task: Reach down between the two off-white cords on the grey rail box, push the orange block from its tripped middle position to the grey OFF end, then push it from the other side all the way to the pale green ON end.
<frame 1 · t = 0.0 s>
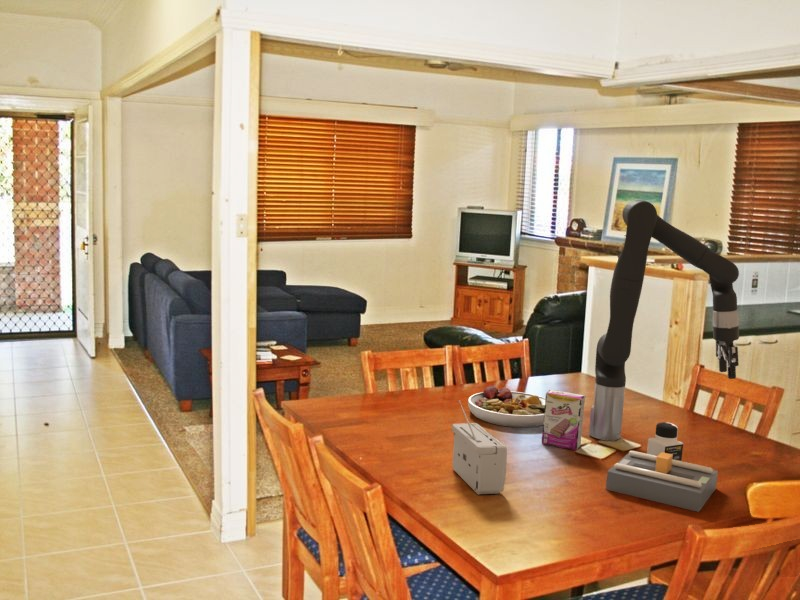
hand: (727, 375, 268), 22 cm above the table, tool pointing down, fingers open, 8 cm apart
stereo radio cassette player: (475, 482, 228), on the table
medicine bottle: (663, 464, 249), on the table
candy bar box: (560, 446, 261), on the table
grey rail box: (661, 488, 229), on the table
orange block: (664, 462, 228), point 7 cm above the table, slide at 0.0 cm
bowl: (511, 417, 290), on the table
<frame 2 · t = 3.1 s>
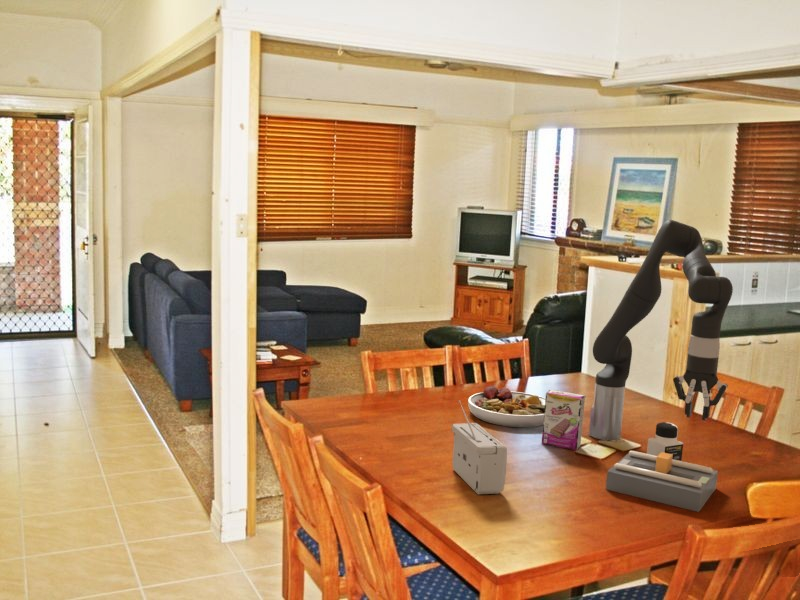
hand: (696, 417, 222), 21 cm above the table, tool pointing down, fingers open, 3 cm apart
nothing on the table moved.
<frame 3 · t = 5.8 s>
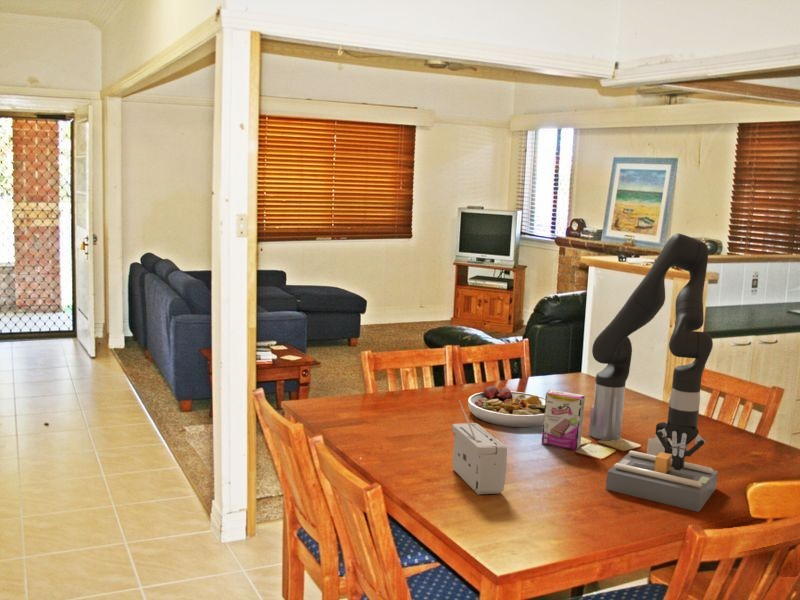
hand: (677, 469, 226), 6 cm above the table, tool pointing down, fingers closed
orange block: (663, 462, 228), point 7 cm above the table, slide at -0.2 cm, touching gripper
everything else where it was.
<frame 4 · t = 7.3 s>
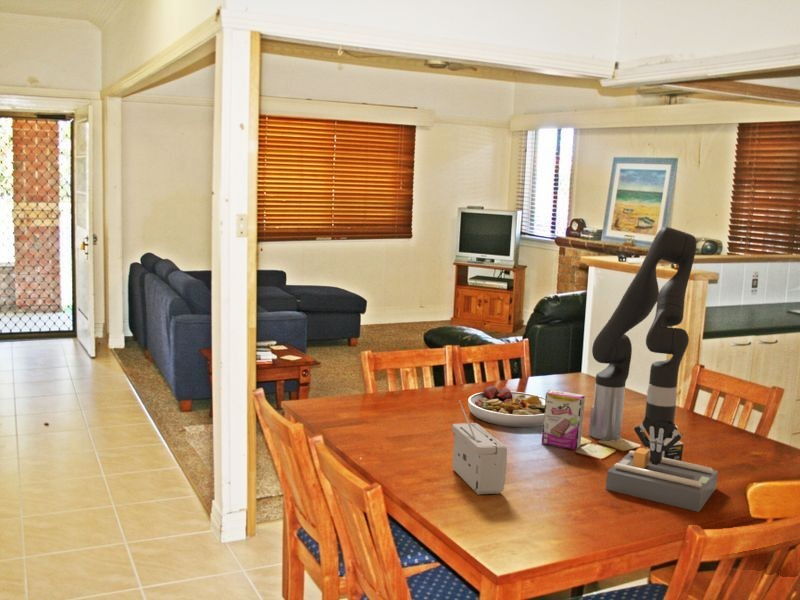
hand: (655, 463, 229), 6 cm above the table, tool pointing down, fingers closed
orange block: (641, 457, 231), point 7 cm above the table, slide at -6.0 cm, touching gripper
everything else where it was.
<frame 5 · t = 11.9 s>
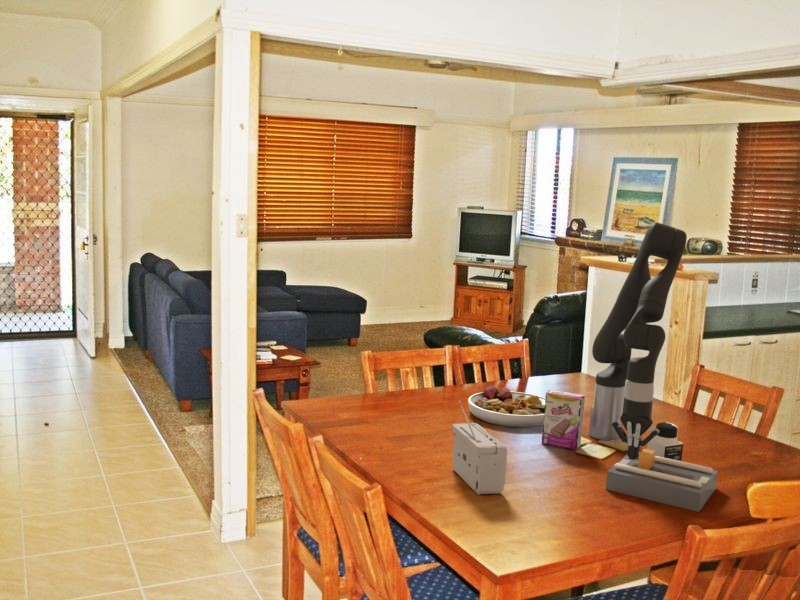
hand: (632, 458, 232), 7 cm above the table, tool pointing down, fingers closed
orange block: (646, 459, 230), point 7 cm above the table, slide at -4.6 cm, touching gripper
everything else where it was.
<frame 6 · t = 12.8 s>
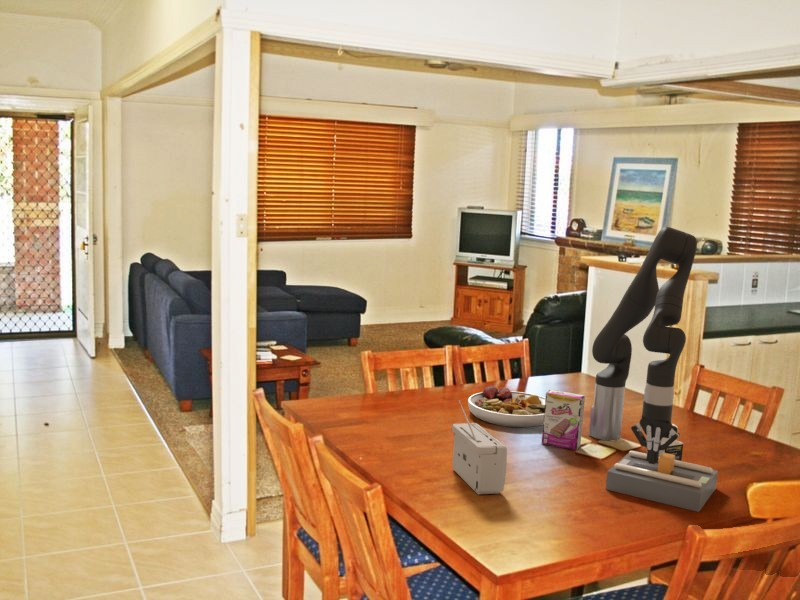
hand: (652, 462, 230), 7 cm above the table, tool pointing down, fingers closed
orange block: (666, 463, 228), point 7 cm above the table, slide at 0.6 cm, touching gripper
everything else where it was.
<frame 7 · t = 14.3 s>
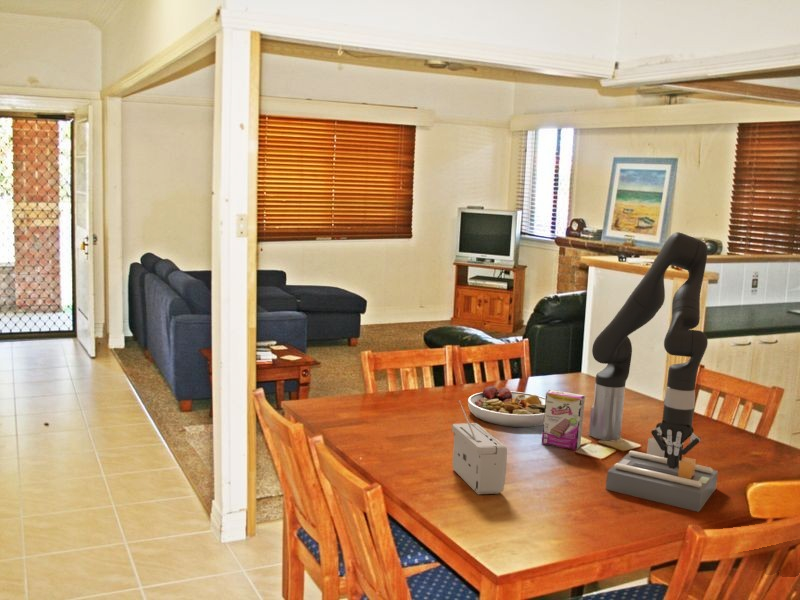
hand: (672, 467, 227), 7 cm above the table, tool pointing down, fingers closed
orange block: (687, 467, 225), point 7 cm above the table, slide at 6.0 cm, touching gripper
everything else where it was.
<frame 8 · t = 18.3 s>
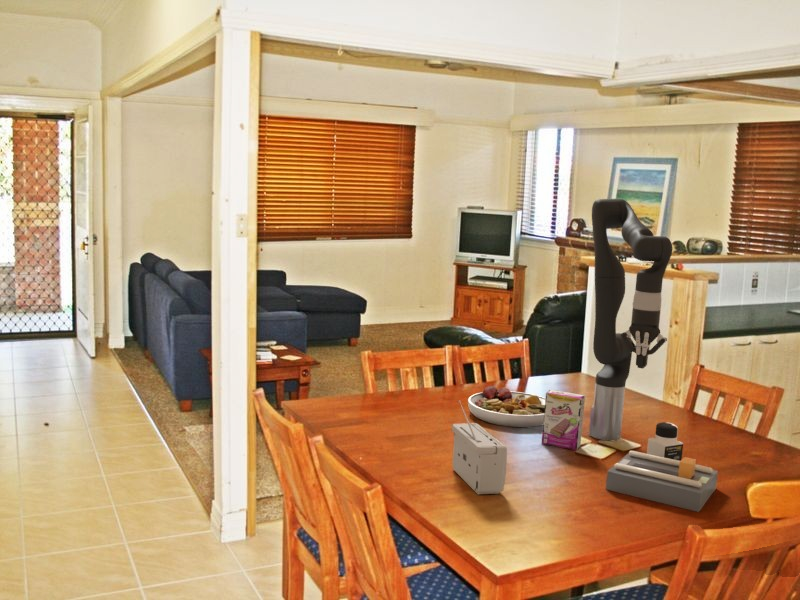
hand: (640, 367, 242), 29 cm above the table, tool pointing down, fingers closed
orange block: (687, 467, 225), point 7 cm above the table, slide at 6.0 cm
everything else where it was.
at the end: orange block slide at 6.0 cm; medicine bottle moved 0.2 cm from its start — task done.
